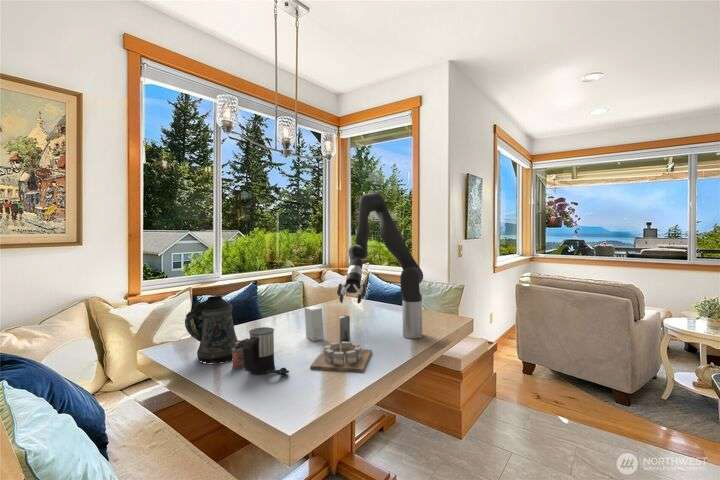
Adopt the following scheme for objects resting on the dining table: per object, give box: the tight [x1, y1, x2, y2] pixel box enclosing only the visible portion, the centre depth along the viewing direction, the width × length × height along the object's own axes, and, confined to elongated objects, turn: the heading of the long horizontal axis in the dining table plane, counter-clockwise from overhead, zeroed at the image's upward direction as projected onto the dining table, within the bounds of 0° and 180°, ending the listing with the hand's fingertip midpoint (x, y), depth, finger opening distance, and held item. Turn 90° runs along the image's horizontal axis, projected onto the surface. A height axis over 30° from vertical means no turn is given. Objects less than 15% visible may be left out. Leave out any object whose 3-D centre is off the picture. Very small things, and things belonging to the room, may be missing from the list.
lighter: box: [231, 337, 249, 371], centre depth 130 cm, size 8×3×10 cm, turn 148°
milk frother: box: [243, 326, 290, 376], centre depth 124 cm, size 14×16×15 cm
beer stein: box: [184, 295, 238, 364], centre depth 139 cm, size 16×19×25 cm
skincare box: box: [304, 305, 325, 342], centre depth 163 cm, size 8×6×15 cm
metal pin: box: [339, 314, 351, 344], centre depth 156 cm, size 5×5×12 cm
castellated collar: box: [309, 341, 373, 373], centre depth 134 cm, size 20×20×5 cm
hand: (349, 302), depth 167 cm, fingers open, 8 cm apart
